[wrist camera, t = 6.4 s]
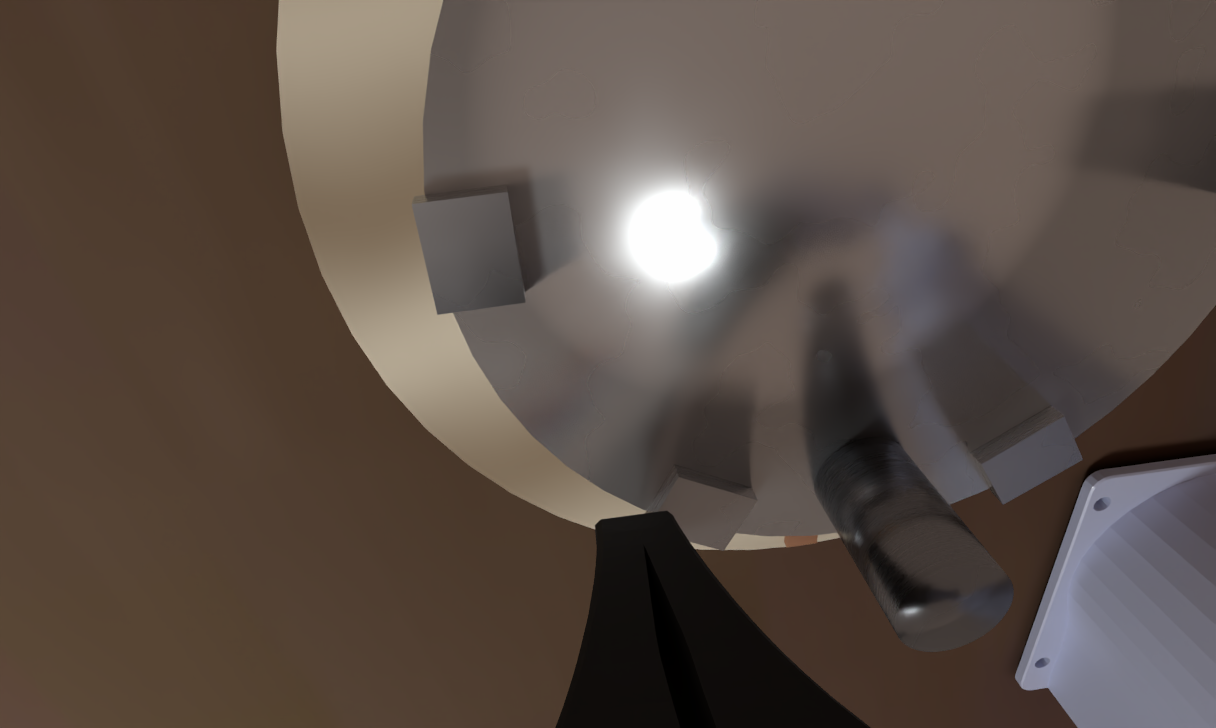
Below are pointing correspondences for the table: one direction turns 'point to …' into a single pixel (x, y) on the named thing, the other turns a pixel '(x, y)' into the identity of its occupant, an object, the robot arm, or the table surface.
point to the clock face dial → (823, 253)
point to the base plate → (405, 240)
